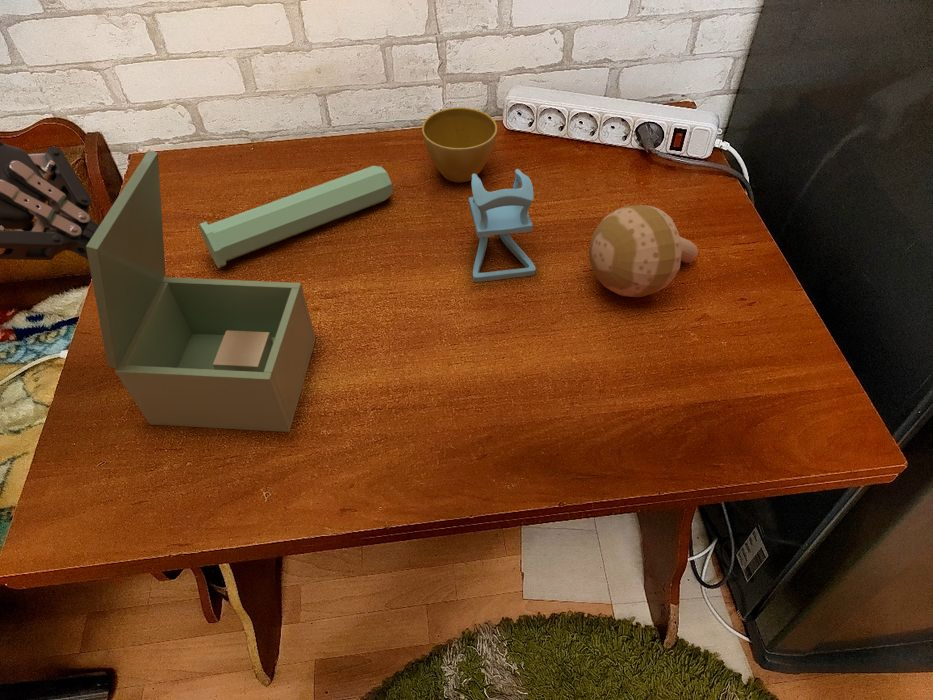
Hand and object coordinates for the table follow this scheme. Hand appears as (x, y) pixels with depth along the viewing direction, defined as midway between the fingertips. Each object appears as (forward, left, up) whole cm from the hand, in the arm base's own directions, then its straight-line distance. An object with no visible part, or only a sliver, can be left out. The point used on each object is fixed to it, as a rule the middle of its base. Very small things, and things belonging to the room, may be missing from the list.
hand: (122, 258), depth 61 cm
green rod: (+26, +6, -17) cm, 32 cm away
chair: (+35, -18, -17) cm, 43 cm away
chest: (+3, -5, -17) cm, 18 cm away
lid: (+1, -1, -1) cm, 1 cm away
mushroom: (+41, -35, -17) cm, 56 cm away
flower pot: (+47, -4, -17) cm, 50 cm away
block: (+4, -7, -16) cm, 18 cm away
